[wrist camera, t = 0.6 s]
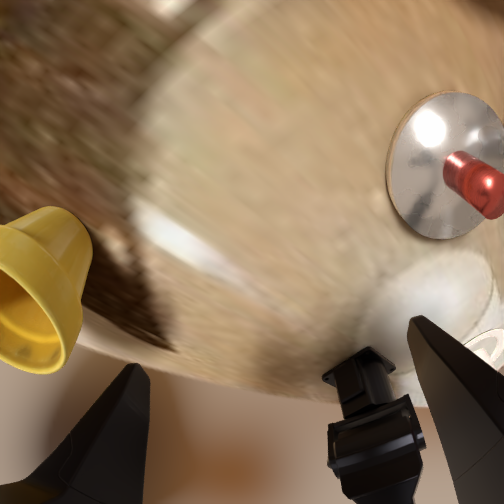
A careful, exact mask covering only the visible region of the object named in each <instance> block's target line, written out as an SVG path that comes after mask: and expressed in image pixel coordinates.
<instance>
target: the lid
mask: <svg viewBox="0 0 504 504" xmlns="http://www.w3.org/2000/svg"><path fill="white" fill-rule="evenodd" d="M386 179H387V186H388V191H389V194H390V198H391V200H392V202H393V205H394V207H395V208H396V210H397V211H398V213H399V214H400V216H401V217H402V218H403V219H404V220H405V221H406V222H407V224H408V225H409V226H410V227H411V228H412V229H414V230H415V231H416V232H418V233H420V234H421V235H423V236H426V237H429V238H434V239H450V238H454V237H458V236H460V235H463V234H465V233H467V232H469V231H471V230H472V229H474V228H475V227H476V226H478V225H479V224H480V223H481V222H482V221H483V220H484V219H485V218H487V219H491V220H492V219H496V218H498V217H500V216H501V215H502V214H503V213H504V127H503V125H502V123H501V121H500V119H499V117H498V116H497V115H496V113H495V112H494V111H493V109H492V108H491V107H490V106H489V105H488V104H486V103H485V102H484V101H482V100H481V99H479V98H477V97H475V96H472V95H470V94H466V93H462V92H457V91H441V92H436V93H433V94H431V95H428V96H426V97H425V98H423V99H421V100H420V101H418V102H417V103H416V104H415V105H414V106H412V107H411V109H410V110H409V111H408V112H407V113H406V114H405V115H404V117H403V118H402V120H401V121H400V123H399V124H398V126H397V128H396V130H395V132H394V135H393V137H392V140H391V143H390V146H389V150H388V155H387V162H386Z"/></svg>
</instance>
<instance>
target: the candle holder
mask: <svg viewBox="0 0 504 504" xmlns="http://www.w3.org/2000/svg"><path fill="white" fill-rule="evenodd" d="M487 337H495V338H496V339H497V345H496V348H495V350H494V352H493V353H492V355H491V356H489V355H488V353H487V351H486V350H485V349H478V350H476V351H474V352H473V353H475V354H476V355H477V356H479V357H480V358H481V359H482V360H484V361H485V362H486V363H488V364H489V365H490V366H492V367H493V368H494V369H495V370H497V369H496V367H495V365H494V364H493V362H494V361H495V360H496V359H497V358H498V357H499V355H500V354H501V352H502V351H503V349H504V330H503V329H494V330H490V331H488V332H485V333H483V334H481V335H479V336H477V337H476V338H474V339H472V340H471V341H469V342H468V343H467V344H465V345H464V346H465V347H467V348H468V347H469V346H471V345H472V344H474V343H476V342H477V341H479V340H481V339H484V338H487Z"/></svg>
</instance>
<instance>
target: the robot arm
mask: <svg viewBox="0 0 504 504" xmlns="http://www.w3.org/2000/svg"><path fill="white" fill-rule="evenodd" d="M407 341H408V344H409V348H410V351H411V355H412V358H413V362H414V365H415V369H416V373H417V376H418V380H419V383H420V385H421V388H422V391H423V393H424V396H425V398H426V401H427V404H428V406H429V409H430V412H431V415H432V417H433V420H434V423H435V426H436V429H437V432H438V435H439V438H440V441H441V444H442V447H443V450H444V453H445V456H446V459H447V462H448V466H449V469H450V473H451V476H452V480H453V484H454V487H455V491H456V495H457V499H458V503H459V504H504V376H503V375H502V374H501V373H499V372H497V370H495V369H494V368H493V367H492V366H490V365H489V364H488V363H486V362H485V361H484V360H482V359H481V358H480V357H479V356H477V355H476V354H475V353H473V352H472V351H471V350H469V349H468V348H467V347H465V346H464V345H463V344H461V343H460V342H459V341H457V340H456V339H455V338H453V337H452V336H450V335H449V334H448V333H446V332H445V331H444V330H442V329H441V328H440V327H438V326H437V325H435V324H434V323H433V322H431V321H430V320H429V319H427V318H426V317H424V316H422V315H419V316H415V317H412V318H411V319H410V321H409V327H408V332H407ZM395 369H396V367H395V365H394V364H393V363H392V362H390V361H389V360H388V359H386V358H385V357H383V356H382V355H381V354H379V353H378V352H377V351H375V350H374V349H373V348H371V347H366V348H365V349H363V350H362V351H360V352H359V353H357V354H356V355H354V356H353V357H351V358H349V359H348V360H346V361H345V362H343V363H342V364H340V365H339V366H337V367H335V368H334V369H332V370H331V371H329V372H327V373H326V374H324V375H323V376H322V380H323V381H324V382H326V383H328V384H330V385H332V386H334V387H336V388H337V393H338V397H339V402H340V404H341V408H342V413H343V418H344V420H342V421H339V422H336V423H330V424H328V431H327V435H328V460H327V465H328V467H329V468H331V469H332V470H333V472H334V474H335V476H336V477H337V478H338V479H340V481H341V486H342V492H343V493H344V494H345V495H346V496H347V498H348V499H350V500H351V499H352V500H353V501H354V502H355V503H356V504H415V499H414V495H415V493H416V490H417V487H418V484H419V481H420V478H421V474H422V471H423V462H422V459H421V455H420V451H421V450H423V449H426V443H425V440H424V436H423V433H422V430H421V427H420V424H419V421H418V418H417V415H416V413H415V410H414V407H413V404H412V402H411V399H410V397H409V394H406V395H404V396H403V397H401V398H399V399H397V400H396V397H395V394H394V391H393V388H392V385H391V382H390V379H389V376H388V374H390V373H391V372H393V371H394V370H395ZM409 416H410V418H409ZM149 422H150V379H149V376H148V375H147V374H146V372H145V371H144V369H143V368H142V367H141V365H140V364H138V363H130V364H127V365H126V366H125V367H124V368H123V370H122V371H121V372H120V373H119V374H118V376H117V377H116V378H115V379H114V380H113V381H112V382H111V384H110V385H109V386H108V387H107V388H106V390H105V391H104V392H103V393H102V394H101V395H100V397H99V398H98V399H97V400H96V401H95V403H94V404H93V405H92V406H91V407H90V409H89V410H88V411H87V412H86V413H85V415H84V416H83V417H82V418H81V419H80V421H79V422H78V423H77V424H76V425H75V427H74V428H73V429H72V430H71V431H70V433H69V434H68V435H67V436H66V437H65V439H64V440H63V441H62V442H61V443H60V445H58V447H57V448H56V449H55V450H54V451H53V452H52V453H51V454H50V455H49V457H47V459H45V460H44V461H43V462H42V463H41V464H40V465H39V466H38V467H37V468H36V469H35V471H33V473H31V474H30V475H29V476H28V477H26V478H25V479H23V480H21V481H18V482H14V483H10V484H4V485H0V504H142V502H143V487H144V473H145V461H146V451H147V441H148V432H149Z"/></svg>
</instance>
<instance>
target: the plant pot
mask: <svg viewBox="0 0 504 504" xmlns="http://www.w3.org/2000/svg"><path fill="white" fill-rule="evenodd" d="M92 256H93V248H92V242H91V239H90V236H89V234H88V232H87V230H86V228H85V227H84V225H83V224H82V223H81V222H80V220H79V219H78V218H77V217H75V216H74V215H73V214H72V213H70V212H69V211H67V210H65V209H63V208H60V207H55V206H47V207H43V208H40V209H38V210H36V211H34V212H32V213H30V214H27V215H25V216H23V217H21V218H19V219H17V220H15V221H12V222H10V223H8V224H6V225H0V359H1V360H2V361H4V362H6V363H7V364H9V365H11V366H13V367H15V368H18V369H20V370H23V371H26V372H30V373H34V374H51V373H54V372H57V371H58V370H60V369H61V368H62V367H63V366H64V365H65V364H66V362H67V360H68V358H69V356H70V354H71V352H72V349H73V347H74V345H75V343H76V340H77V338H78V335H79V332H80V330H81V327H82V321H83V311H82V305H81V297H82V293H83V289H84V286H85V282H86V278H87V274H88V271H89V268H90V264H91V261H92Z"/></svg>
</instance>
